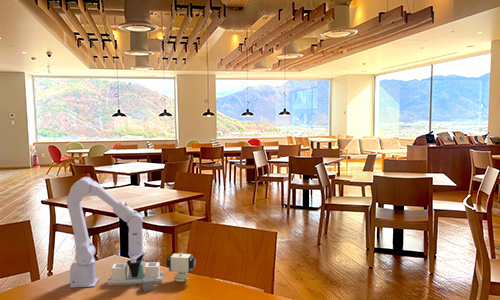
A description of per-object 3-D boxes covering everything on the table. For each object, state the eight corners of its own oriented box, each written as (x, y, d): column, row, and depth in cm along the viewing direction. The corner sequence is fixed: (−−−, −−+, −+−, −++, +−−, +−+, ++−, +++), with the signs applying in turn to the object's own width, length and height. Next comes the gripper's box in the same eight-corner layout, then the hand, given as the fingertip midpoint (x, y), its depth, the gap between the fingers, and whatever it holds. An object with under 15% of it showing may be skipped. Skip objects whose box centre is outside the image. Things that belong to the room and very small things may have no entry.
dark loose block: (143, 291, 159) (143, 282, 158) (142, 287, 162) (142, 278, 162) (154, 290, 160) (153, 280, 160) (152, 286, 164) (152, 276, 164)
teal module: (129, 281, 167) (128, 264, 166) (130, 277, 171) (130, 260, 171) (142, 280, 167) (142, 264, 167) (143, 276, 172) (143, 260, 171)
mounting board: (107, 285, 163) (106, 269, 163) (112, 276, 173) (111, 261, 173) (161, 283, 166) (161, 267, 166) (163, 274, 176) (163, 259, 176)
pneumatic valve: (193, 283, 166) (193, 255, 165) (166, 282, 168) (165, 254, 167) (196, 278, 172) (196, 251, 171) (170, 276, 173) (169, 249, 172)
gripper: (143, 247, 161) (143, 279, 162) (147, 236, 176) (147, 266, 177) (125, 247, 160) (125, 280, 161) (131, 237, 175) (131, 267, 176)
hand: (136, 273), depth 169 cm, fingers open, 7 cm apart
